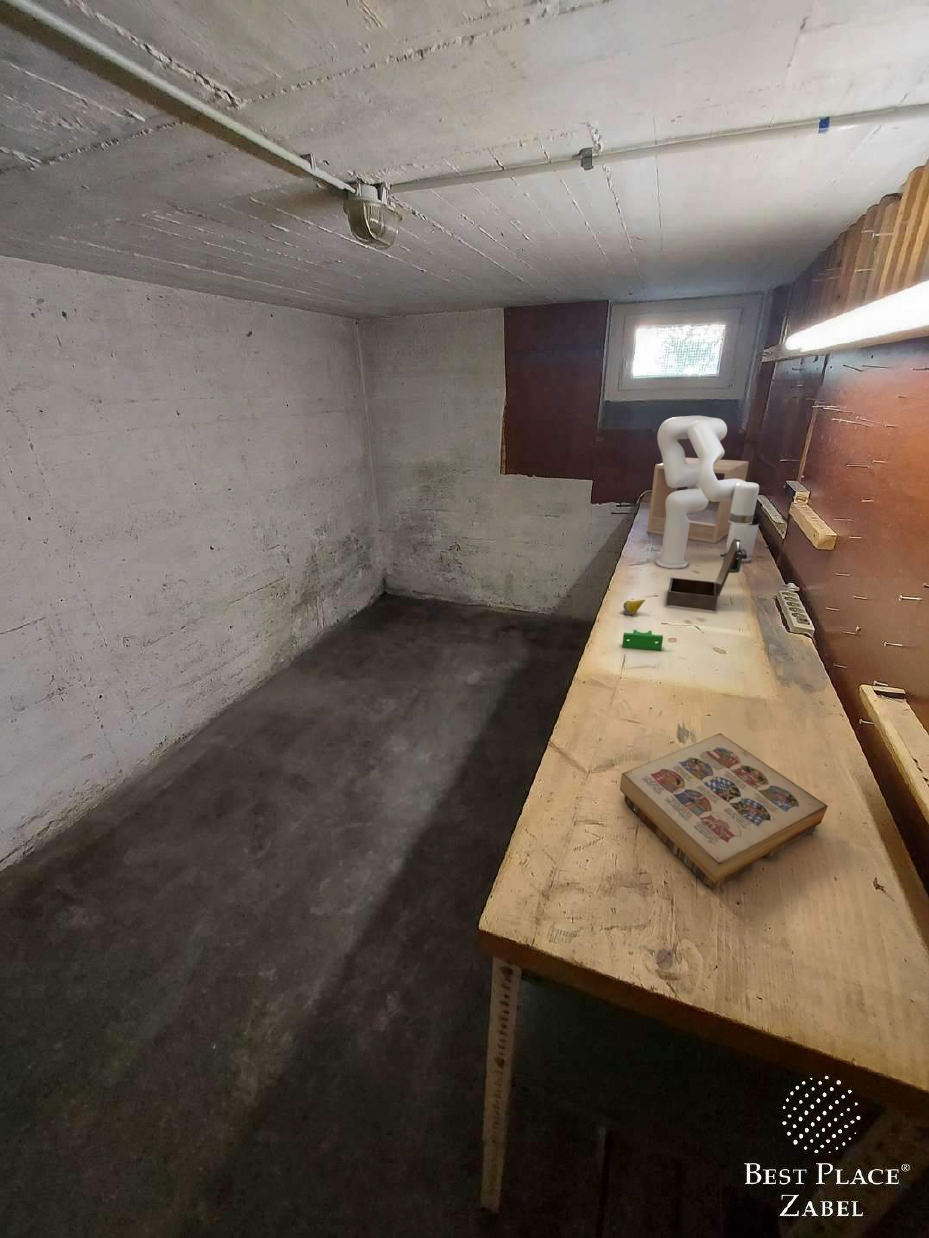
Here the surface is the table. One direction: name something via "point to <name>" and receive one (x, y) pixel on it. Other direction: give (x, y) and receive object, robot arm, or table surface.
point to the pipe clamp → (642, 640)
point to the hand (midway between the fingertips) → (731, 565)
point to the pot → (737, 565)
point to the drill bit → (632, 607)
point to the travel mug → (751, 538)
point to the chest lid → (728, 565)
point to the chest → (692, 594)
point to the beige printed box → (719, 807)
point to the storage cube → (696, 529)
